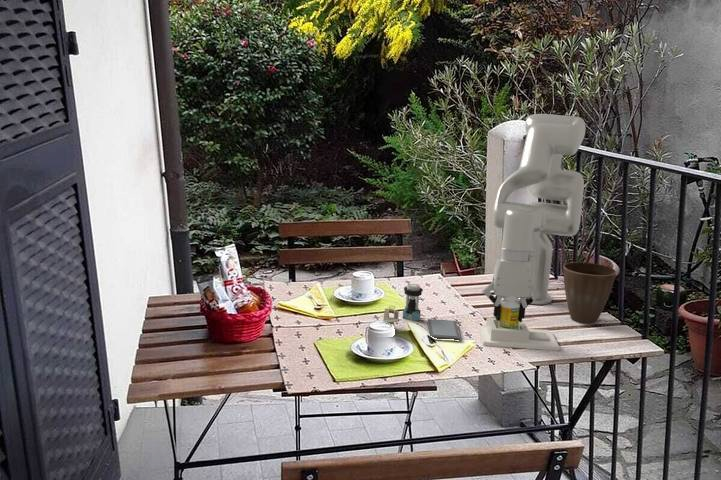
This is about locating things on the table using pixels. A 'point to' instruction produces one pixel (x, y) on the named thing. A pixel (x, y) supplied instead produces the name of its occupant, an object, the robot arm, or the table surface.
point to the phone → (443, 329)
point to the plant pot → (587, 290)
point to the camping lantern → (412, 302)
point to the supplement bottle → (509, 313)
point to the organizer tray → (516, 336)
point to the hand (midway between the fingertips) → (508, 319)
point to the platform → (389, 319)
